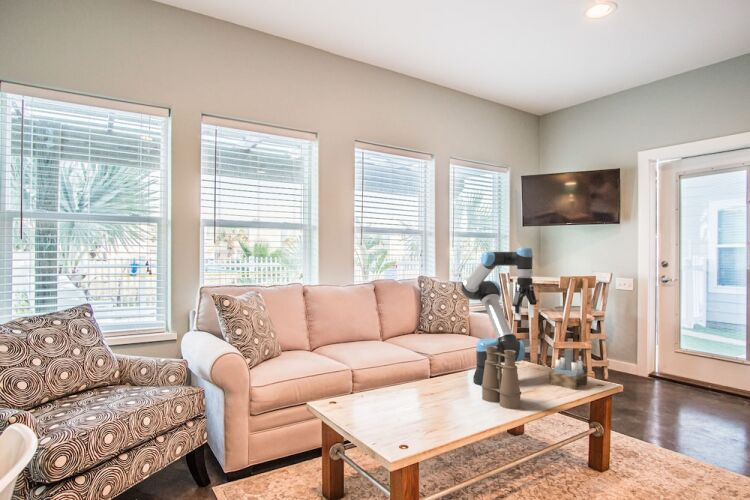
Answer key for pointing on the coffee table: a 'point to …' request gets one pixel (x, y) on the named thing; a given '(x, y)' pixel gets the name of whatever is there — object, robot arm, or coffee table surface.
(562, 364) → the pegged blue plate
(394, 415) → the coffee table surface
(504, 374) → the binoculars
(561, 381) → the wooden u channel
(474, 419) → the coffee table surface
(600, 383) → the coffee table surface
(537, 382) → the coffee table surface
